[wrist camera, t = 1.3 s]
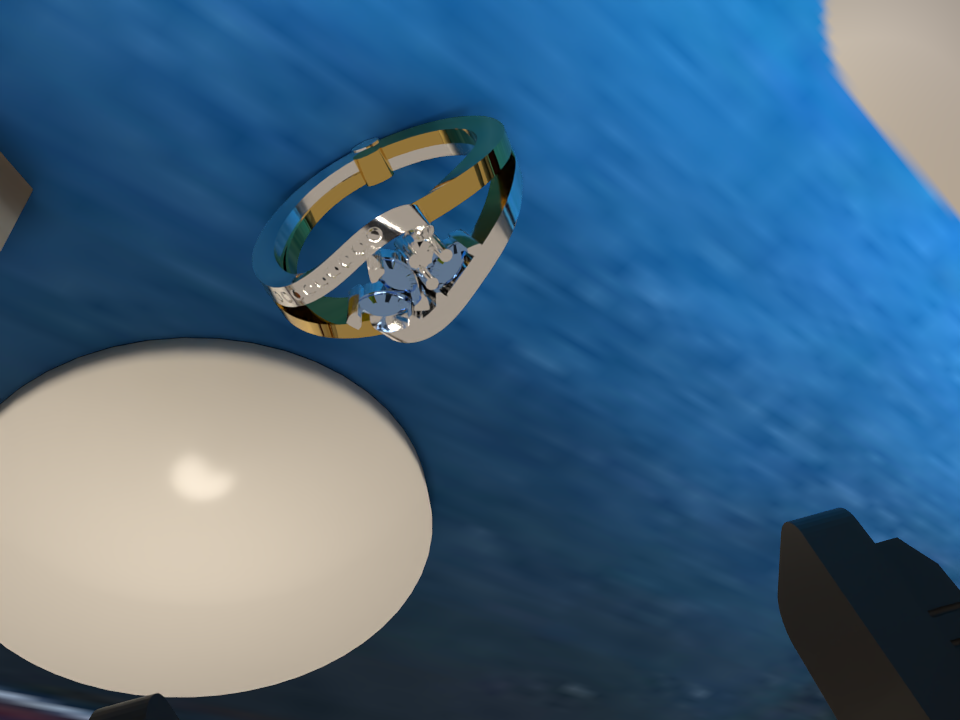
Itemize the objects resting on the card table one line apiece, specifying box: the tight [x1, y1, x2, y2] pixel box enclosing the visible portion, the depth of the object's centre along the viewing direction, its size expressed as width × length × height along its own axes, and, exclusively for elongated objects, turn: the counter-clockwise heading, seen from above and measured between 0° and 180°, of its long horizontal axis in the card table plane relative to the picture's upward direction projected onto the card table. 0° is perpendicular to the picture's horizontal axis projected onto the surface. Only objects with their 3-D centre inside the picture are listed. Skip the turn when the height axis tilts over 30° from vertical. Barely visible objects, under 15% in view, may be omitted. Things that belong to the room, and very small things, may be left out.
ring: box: [252, 116, 523, 343], centre depth 22 cm, size 7×3×8 cm, turn 111°
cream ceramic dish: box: [0, 338, 432, 697], centre depth 31 cm, size 16×16×1 cm
